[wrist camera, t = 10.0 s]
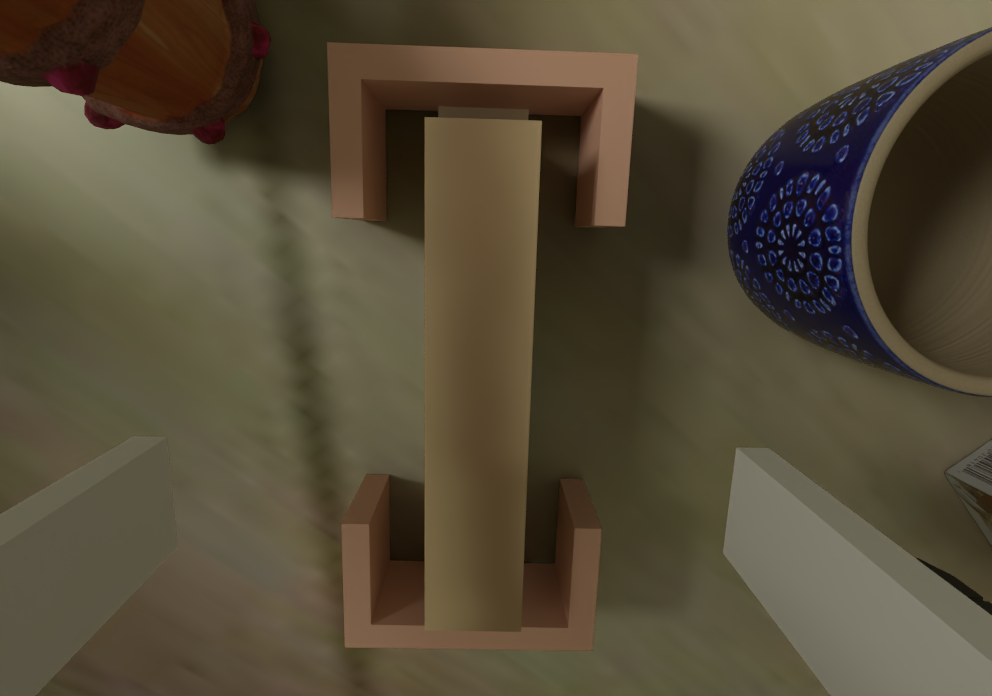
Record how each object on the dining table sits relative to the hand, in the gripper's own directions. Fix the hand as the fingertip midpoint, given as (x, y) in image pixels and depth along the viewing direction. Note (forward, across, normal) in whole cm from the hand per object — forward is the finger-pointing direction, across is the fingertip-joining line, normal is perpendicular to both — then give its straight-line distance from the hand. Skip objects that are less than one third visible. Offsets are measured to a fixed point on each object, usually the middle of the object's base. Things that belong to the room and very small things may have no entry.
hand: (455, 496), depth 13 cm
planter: (+15, +16, +7) cm, 23 cm away
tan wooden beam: (+14, 0, 0) cm, 14 cm away
